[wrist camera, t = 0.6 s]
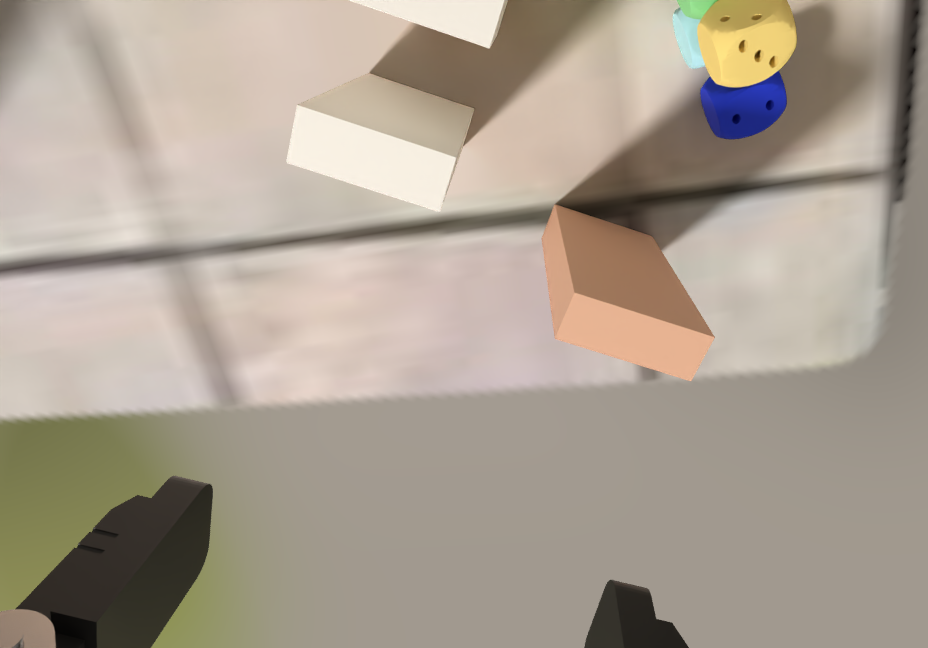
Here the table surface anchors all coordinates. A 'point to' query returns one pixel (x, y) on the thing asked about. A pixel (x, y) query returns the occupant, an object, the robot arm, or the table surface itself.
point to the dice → (738, 59)
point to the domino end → (620, 295)
